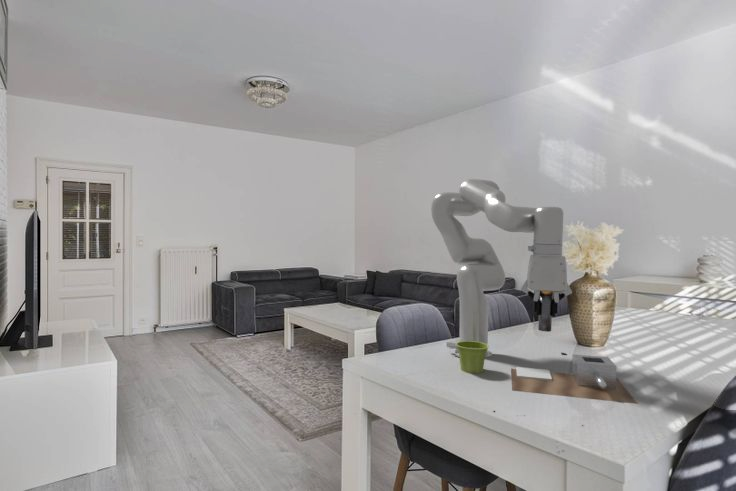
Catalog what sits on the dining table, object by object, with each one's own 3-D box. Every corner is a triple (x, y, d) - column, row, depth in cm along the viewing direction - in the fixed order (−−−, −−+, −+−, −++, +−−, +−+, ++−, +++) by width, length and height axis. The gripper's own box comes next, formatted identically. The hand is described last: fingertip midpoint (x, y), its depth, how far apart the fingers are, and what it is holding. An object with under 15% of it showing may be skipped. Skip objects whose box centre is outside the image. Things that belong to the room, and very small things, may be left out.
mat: (517, 377, 118) (517, 375, 118) (516, 368, 126) (516, 366, 126) (552, 380, 115) (552, 378, 115) (548, 371, 124) (548, 369, 124)
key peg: (538, 330, 119) (540, 288, 118) (537, 328, 122) (539, 287, 122) (552, 332, 118) (553, 289, 117) (550, 329, 121) (551, 287, 121)
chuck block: (582, 395, 104) (583, 371, 104) (572, 375, 120) (572, 354, 120) (624, 400, 101) (624, 375, 101) (607, 378, 117) (608, 357, 117)
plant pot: (489, 371, 128) (489, 342, 128) (487, 380, 119) (487, 349, 119) (457, 367, 131) (458, 340, 131) (453, 376, 122) (454, 346, 122)
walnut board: (512, 395, 107) (512, 390, 107) (510, 372, 126) (510, 368, 126) (638, 408, 99) (638, 403, 99) (616, 382, 118) (616, 378, 118)
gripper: (517, 250, 118) (515, 315, 119) (582, 252, 113) (579, 320, 114) (515, 249, 125) (513, 310, 126) (577, 251, 121) (574, 315, 121)
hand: (545, 314), depth 120 cm, fingers closed on key peg, 3 cm apart
